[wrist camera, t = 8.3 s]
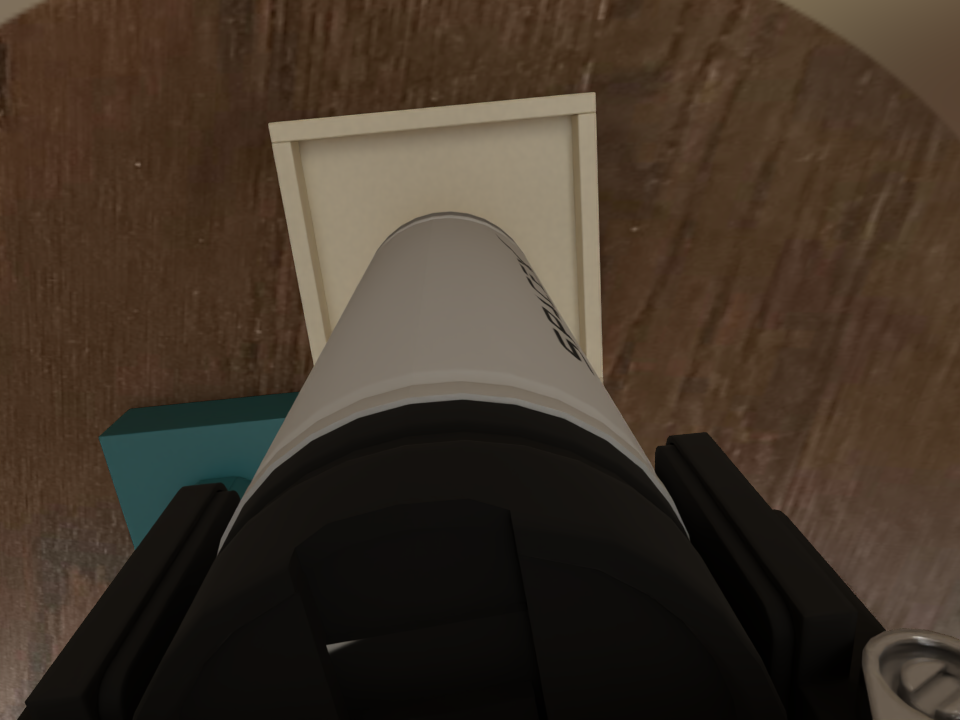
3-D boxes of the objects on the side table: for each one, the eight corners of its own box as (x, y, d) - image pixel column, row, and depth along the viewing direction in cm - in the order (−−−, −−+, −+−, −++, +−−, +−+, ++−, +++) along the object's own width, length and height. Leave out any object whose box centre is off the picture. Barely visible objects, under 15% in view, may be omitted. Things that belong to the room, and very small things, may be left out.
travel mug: (387, 395, 25) (220, 1174, 7) (346, 227, 23) (-85, 680, 4) (545, 367, 25) (836, 1073, 6) (520, 195, 23) (857, 516, 4)
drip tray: (280, 122, 29) (267, 122, 27) (584, 94, 29) (596, 91, 27) (332, 402, 34) (324, 421, 31) (593, 375, 34) (603, 393, 32)
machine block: (129, 408, 33) (77, 455, 28) (325, 388, 33) (305, 432, 29) (187, 599, 37) (149, 667, 33) (361, 580, 37) (348, 646, 33)
